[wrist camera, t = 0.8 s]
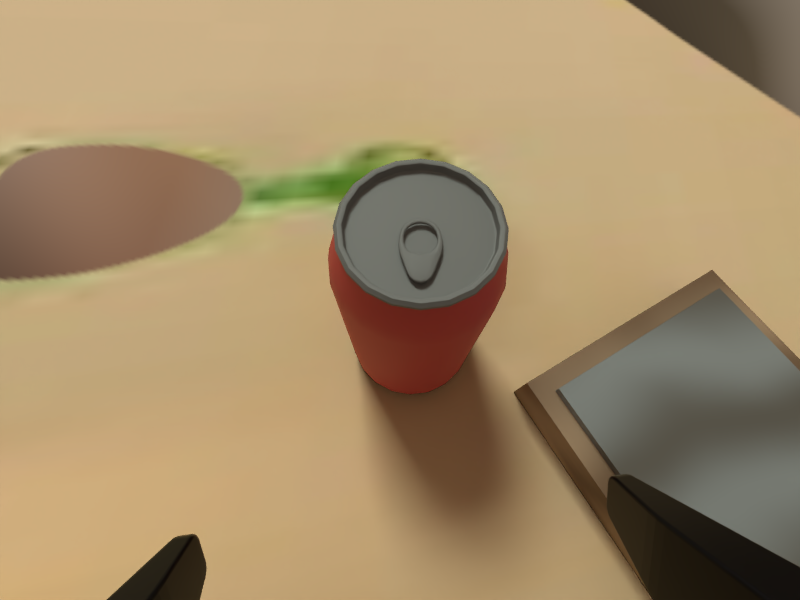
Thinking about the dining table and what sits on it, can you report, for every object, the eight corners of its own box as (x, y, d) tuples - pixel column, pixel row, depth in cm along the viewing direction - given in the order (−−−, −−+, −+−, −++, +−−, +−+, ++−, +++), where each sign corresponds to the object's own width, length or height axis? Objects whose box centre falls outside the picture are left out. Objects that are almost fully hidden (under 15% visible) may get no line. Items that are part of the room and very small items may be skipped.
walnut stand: (869, 488, 21) (942, 491, 18) (684, 645, 18) (736, 677, 15) (683, 288, 25) (718, 265, 22) (513, 392, 22) (530, 380, 20)
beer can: (350, 395, 22) (304, 321, 11) (358, 288, 25) (326, 143, 14) (468, 397, 22) (537, 326, 11) (464, 290, 25) (515, 146, 14)
